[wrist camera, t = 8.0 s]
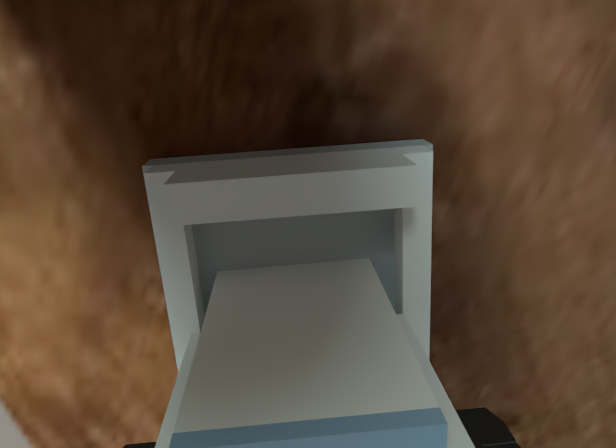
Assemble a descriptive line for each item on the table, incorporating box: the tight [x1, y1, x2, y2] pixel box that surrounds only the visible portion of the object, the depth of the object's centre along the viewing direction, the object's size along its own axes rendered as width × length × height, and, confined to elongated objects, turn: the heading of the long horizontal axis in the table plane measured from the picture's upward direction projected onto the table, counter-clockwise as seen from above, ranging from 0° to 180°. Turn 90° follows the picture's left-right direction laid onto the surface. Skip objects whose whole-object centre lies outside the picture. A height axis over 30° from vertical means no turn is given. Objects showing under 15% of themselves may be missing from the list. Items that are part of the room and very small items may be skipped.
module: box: [169, 258, 448, 448], centre depth 12 cm, size 6×4×7 cm
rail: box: [142, 139, 433, 373], centre depth 16 cm, size 18×8×3 cm, turn 4°
